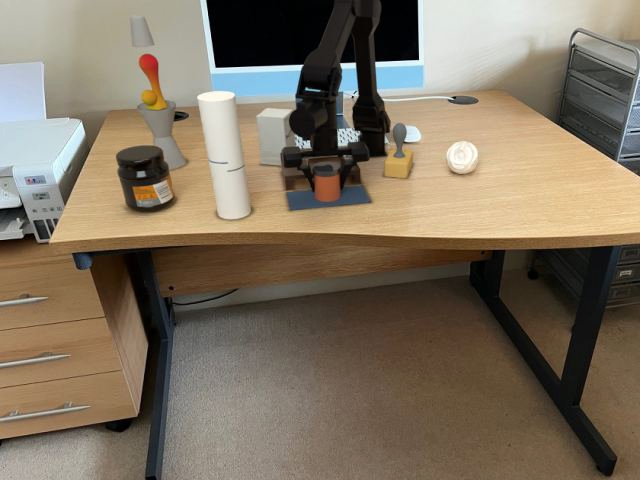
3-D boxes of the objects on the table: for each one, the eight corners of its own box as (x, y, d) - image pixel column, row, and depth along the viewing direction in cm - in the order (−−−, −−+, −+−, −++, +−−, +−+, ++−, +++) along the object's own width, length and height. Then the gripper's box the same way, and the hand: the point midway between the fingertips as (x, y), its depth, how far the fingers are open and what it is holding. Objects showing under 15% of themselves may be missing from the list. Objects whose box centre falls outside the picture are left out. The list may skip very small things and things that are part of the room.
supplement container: (176, 211, 126) (164, 159, 120) (125, 217, 124) (110, 164, 117) (176, 191, 135) (165, 142, 128) (128, 197, 132) (115, 146, 126)
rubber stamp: (406, 178, 142) (408, 130, 135) (383, 176, 143) (384, 129, 136) (412, 163, 150) (414, 117, 143) (390, 161, 151) (391, 116, 144)
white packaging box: (288, 166, 148) (283, 117, 141) (260, 164, 149) (254, 115, 142) (297, 156, 154) (293, 108, 147) (271, 154, 155) (265, 107, 148)
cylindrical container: (220, 205, 129) (200, 91, 115) (252, 204, 130) (237, 90, 116) (215, 219, 123) (194, 101, 109) (249, 218, 124) (232, 100, 110)
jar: (338, 189, 135) (337, 160, 131) (343, 200, 130) (342, 170, 126) (312, 192, 134) (310, 162, 130) (316, 203, 129) (314, 173, 125)
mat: (362, 186, 138) (362, 185, 138) (370, 202, 130) (370, 201, 130) (286, 193, 134) (286, 191, 134) (290, 210, 127) (290, 208, 127)
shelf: (352, 166, 148) (351, 147, 145) (360, 183, 139) (360, 163, 136) (281, 172, 145) (279, 152, 142) (285, 190, 136) (283, 169, 133)
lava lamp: (172, 154, 154) (142, 11, 135) (194, 162, 150) (166, 15, 130) (143, 165, 148) (107, 16, 129) (165, 173, 144) (131, 20, 124)
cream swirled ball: (441, 175, 143) (443, 145, 139) (450, 164, 149) (452, 135, 145) (473, 180, 141) (476, 150, 137) (480, 169, 147) (483, 139, 142)
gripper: (359, 108, 131) (360, 173, 140) (276, 113, 127) (283, 179, 136) (369, 124, 122) (370, 192, 131) (280, 130, 118) (287, 199, 127)
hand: (327, 190), depth 131 cm, fingers closed on jar, 6 cm apart
